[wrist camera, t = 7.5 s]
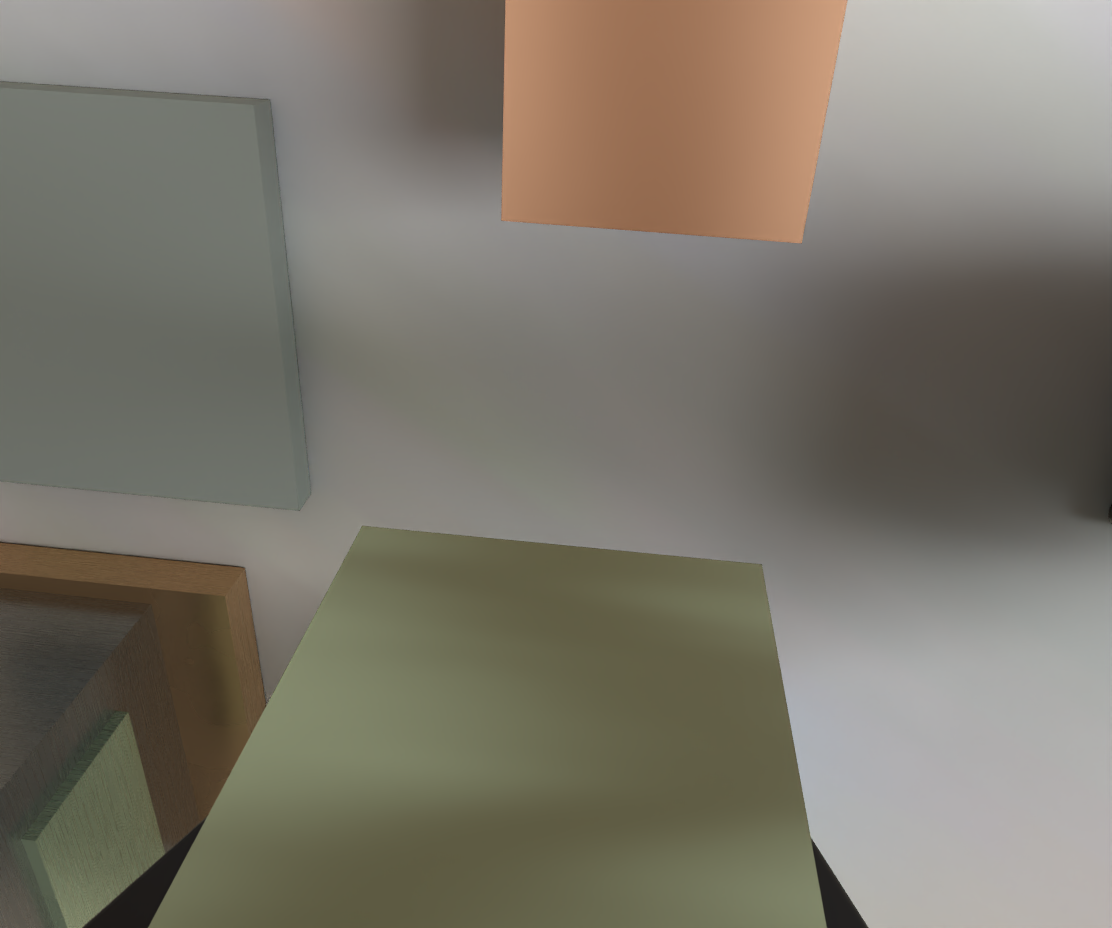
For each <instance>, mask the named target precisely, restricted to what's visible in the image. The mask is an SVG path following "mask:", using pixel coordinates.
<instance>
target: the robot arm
mask: <svg viewBox="0 0 1112 928" xmlns="http://www.w3.org/2000/svg"><path fill="white" fill-rule="evenodd" d="M1109 519H1110V522H1111V524H1112V505H1111V507H1110V511H1109ZM206 818H207V817H206ZM206 818H205V819H203V820H202V821H201V822H200V823H199V824H198V825H197V826H196V827H194V828H193V829H192V830H191V831H190V832H189V833H188V834H187V835H185V836H184V837H183V838H182V839H181V840H180V841H179V842H178V843H176V844H175V845H174V846H173V847H172V848H171V849H170V850H169V851H167V852H166V853H165V854H164V855H163V856H162V857H161V858H160V859H158V860H157V861H156V862H155V863H154V864H153V865H152V866H151V867H149V868H148V869H147V870H146V871H145V872H144V873H143V874H142V875H140V876H139V877H138V878H137V879H136V880H135V881H134V882H133V883H131V884H130V885H129V886H128V887H127V888H126V889H125V890H124V891H122V892H121V893H120V894H119V895H118V896H117V897H116V898H115V899H113V900H112V901H111V902H110V903H109V904H108V905H107V906H106V907H104V908H103V909H102V910H101V911H100V912H99V913H98V914H97V915H95V916H94V917H93V918H92V919H91V920H90V921H89V922H88V923H86V924H85V925H84V926H83V927H82V928H148V927H149V925H150V923H151V921H152V920H153V918H154V916H155V914H156V912H157V910H158V908H159V906H160V905H161V903H162V901H163V899H164V897H165V895H166V893H167V891H168V889H169V888H170V886H171V884H172V882H173V880H174V878H175V876H176V874H177V873H178V871H179V869H180V867H181V865H182V863H183V861H184V859H185V858H186V856H187V854H188V852H189V850H190V848H191V846H192V844H193V843H194V841H195V839H196V837H197V835H198V833H199V831H200V829H201V828H202V826H203V824H204V822H205V820H206ZM811 843H812V848H813V854H814V859H815V865H816V870H817V876H818V882H819V887H820V893H821V898H822V904H823V909H824V915H825V921H826V926H827V928H868V926H867V925H866V923H865V922H864V920H863V919H862V917H861V915H860V914H859V912H858V911H857V909H856V908H855V906H854V904H853V903H852V901H851V900H850V898H849V897H848V895H847V893H846V892H845V890H844V889H843V887H842V886H841V884H840V882H839V881H838V879H837V878H836V876H835V875H834V873H833V871H832V870H831V868H830V867H829V865H828V864H827V862H826V860H825V859H824V857H823V856H822V854H821V853H820V851H819V849H818V848H817V846H816V845H815V843H814V842H813V840H812V838H811Z"/></svg>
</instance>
